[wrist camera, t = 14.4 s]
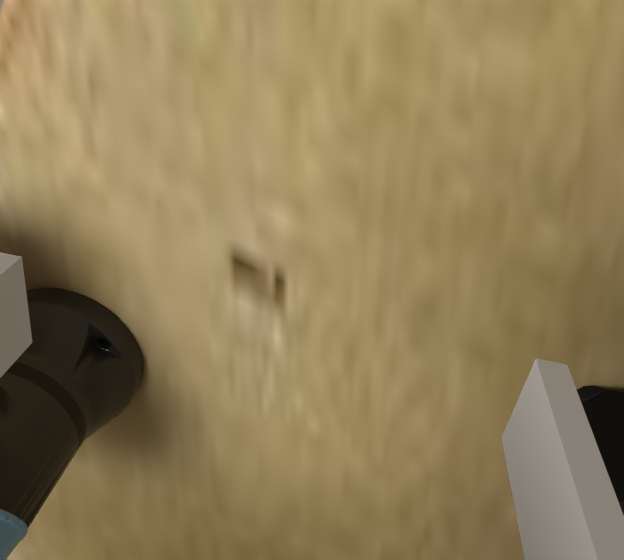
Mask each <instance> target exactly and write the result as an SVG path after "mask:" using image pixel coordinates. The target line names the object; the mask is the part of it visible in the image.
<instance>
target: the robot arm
mask: <svg viewBox="0 0 624 560" xmlns="http://www.w3.org/2000/svg"><path fill="white" fill-rule="evenodd" d="M142 376H143V362H142V357H141V353H140V350H139V348H138V346H137V343H136V342H135V340H134V338H133V336H132V335H131V333H130V332H129V331H128V329H127V328H126V327H125V326H124V324H123V323H122V322H121V321H120V320H119V319H118V318H117V317H116V316H114V315H113V314H112V313H111V312H110V311H108V310H107V309H106V308H104V307H103V306H101V305H100V304H98V303H96V302H94V301H93V300H91V299H89V298H86V297H84V296H82V295H79V294H76V293H73V292H70V291H66V290H61V289H52V288H41V289H33V290H29V291H26V286H25V278H24V269H23V261H22V257H21V256H16V255H11V254H6V253H1V252H0V560H6V559H7V557H8V556H9V555H10V553H11V552H12V551H13V549H14V548H15V547H16V545H17V544H18V543H19V542H20V541H21V540H22V539H23V538H24V537H25V536H26V534H27V530H28V527H29V526H30V524H31V523H32V521H33V519H34V518H35V516H36V515H37V513H38V512H39V510H40V508H41V507H42V505H43V504H44V502H45V501H46V499H47V497H48V496H49V494H50V493H51V491H52V490H53V488H54V486H55V485H56V483H57V482H58V480H59V479H60V477H61V475H62V474H63V472H64V471H65V469H66V468H67V466H68V464H69V463H70V461H71V460H72V458H73V457H74V455H75V453H76V452H77V450H78V449H79V447H80V446H81V444H82V443H83V441H84V440H85V439H86V438H88V437H89V436H90V435H92V434H93V433H95V432H96V431H97V430H99V429H100V428H101V427H103V426H104V425H105V424H106V423H108V422H109V421H110V420H111V419H113V418H114V417H116V416H117V415H118V414H120V413H121V412H122V411H123V410H124V409H125V408H126V407H127V406H128V404H129V403H130V401H131V400H132V398H133V396H134V395H135V393H136V391H137V390H138V388H139V386H140V384H141V381H142ZM502 444H503V449H504V454H505V459H506V465H507V470H508V475H509V480H510V486H511V491H512V496H513V501H514V507H515V512H516V517H517V522H518V528H519V533H520V538H521V543H522V549H523V554H524V559H525V560H624V501H619V500H618V499H617V497H616V494H615V491H614V489H613V486H612V483H611V481H610V478H609V475H608V473H607V470H606V467H605V465H604V462H603V459H602V457H601V454H600V451H599V449H598V446H597V443H596V440H595V438H594V435H593V432H592V430H591V427H590V424H589V422H588V419H587V416H586V414H585V411H584V408H583V406H582V403H581V400H580V398H579V395H578V392H577V390H576V387H575V384H574V382H573V379H572V376H571V374H570V371H569V368H568V366H567V364H562V363H557V362H552V361H547V360H542V359H537V358H536V359H535V362H534V364H533V366H532V369H531V371H530V373H529V375H528V378H527V380H526V382H525V385H524V387H523V389H522V392H521V394H520V396H519V398H518V401H517V403H516V405H515V408H514V410H513V412H512V415H511V417H510V419H509V421H508V424H507V426H506V428H505V431H504V433H503V435H502Z"/></svg>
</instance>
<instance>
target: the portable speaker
mask: <svg viewBox="0 0 624 560" xmlns="http://www.w3.org/2000/svg"><path fill="white" fill-rule="evenodd" d="M577 392H578V395H579V398H580V400H581V403H582V406H583V408H584V411H585V414H586V416H587V419H588V422H589V424H590V427H591V430H592V432H593V435H594V438H595V440H596V443H597V446H598V449H599V451H600V454H601V457H602V459H603V462H604V465H605V467H606V470H607V473H608V475H609V478H610V481H611V483H612V486H613V489H614V491H615V494H616V497H617V499H618V500H619V501H624V393H620V392H616V391H605V390H601V389H599V388H597V387H595V386H586V387H582V388H580V389H578V390H577Z"/></svg>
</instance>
